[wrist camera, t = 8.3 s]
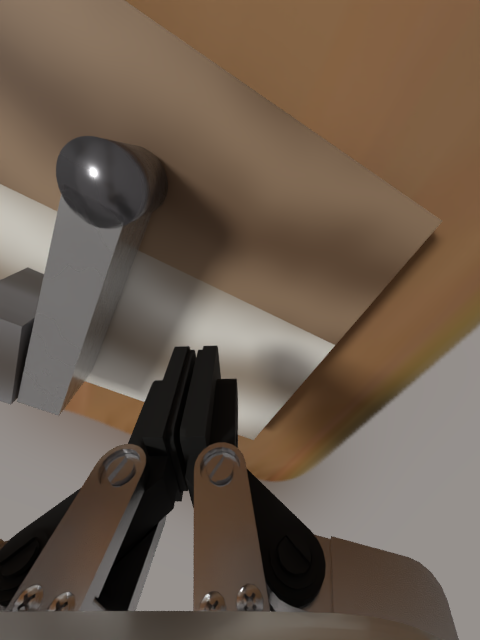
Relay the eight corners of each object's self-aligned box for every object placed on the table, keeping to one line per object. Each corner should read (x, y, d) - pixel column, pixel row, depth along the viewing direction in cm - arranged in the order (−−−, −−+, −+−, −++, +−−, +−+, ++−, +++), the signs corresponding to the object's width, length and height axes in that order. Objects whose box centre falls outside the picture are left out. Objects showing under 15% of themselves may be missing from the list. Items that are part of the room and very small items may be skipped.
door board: (-159, -179, 8) (-807, -740, 3) (417, 214, 14) (520, 241, 9) (-103, 287, 16) (-263, 342, 11) (252, 418, 22) (255, 496, 17)
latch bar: (116, 130, 10) (65, 115, 7) (177, 168, 11) (153, 168, 8) (54, 355, 16) (10, 399, 13) (97, 372, 17) (64, 417, 14)
